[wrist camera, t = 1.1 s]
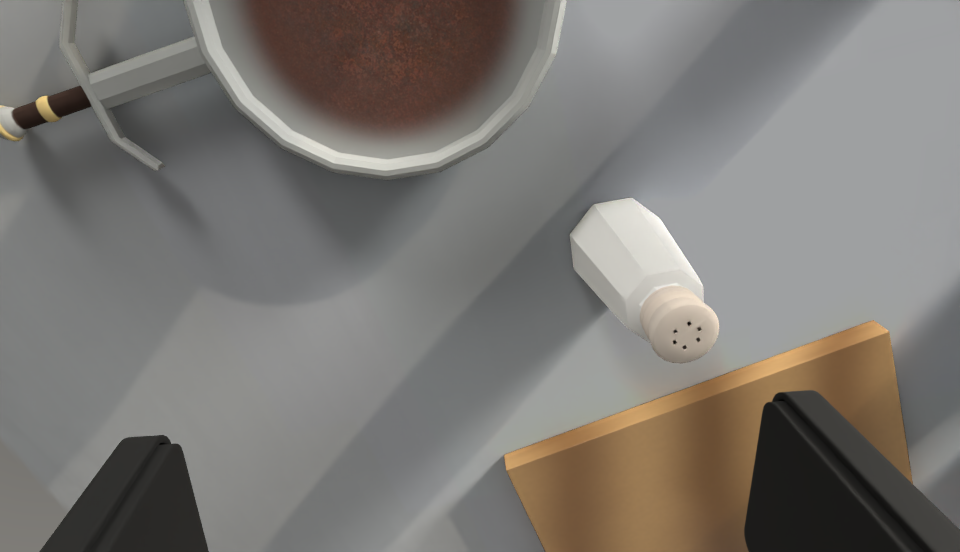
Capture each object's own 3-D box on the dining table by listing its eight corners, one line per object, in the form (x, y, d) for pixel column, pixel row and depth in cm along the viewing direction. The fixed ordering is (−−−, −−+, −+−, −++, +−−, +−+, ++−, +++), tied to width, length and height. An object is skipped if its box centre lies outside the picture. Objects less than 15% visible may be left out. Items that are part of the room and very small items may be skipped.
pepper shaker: (595, 303, 37) (655, 415, 27) (549, 229, 35) (595, 319, 25) (679, 255, 36) (774, 351, 26) (636, 176, 34) (721, 247, 24)
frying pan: (-156, -69, 26) (507, -329, 23) (-99, -62, 28) (501, -294, 26) (75, 295, 32) (612, 120, 30) (104, 273, 35) (599, 110, 33)
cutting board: (873, 319, 39) (889, 331, 37) (904, 507, 45) (919, 524, 43) (503, 454, 41) (505, 470, 39) (581, 617, 47) (585, 635, 45)
